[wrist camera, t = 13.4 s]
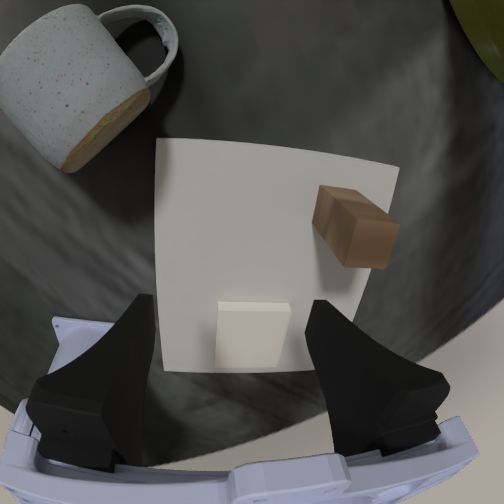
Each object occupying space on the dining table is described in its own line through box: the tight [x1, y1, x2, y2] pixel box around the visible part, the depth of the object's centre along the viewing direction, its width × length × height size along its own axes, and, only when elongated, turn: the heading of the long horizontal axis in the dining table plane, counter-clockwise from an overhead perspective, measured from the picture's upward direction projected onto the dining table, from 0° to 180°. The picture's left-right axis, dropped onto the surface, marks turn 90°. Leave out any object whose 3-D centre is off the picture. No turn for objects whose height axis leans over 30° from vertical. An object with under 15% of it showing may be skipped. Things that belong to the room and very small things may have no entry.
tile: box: [214, 301, 292, 368], centre depth 27 cm, size 1×6×7 cm
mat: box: [155, 138, 399, 373], centre depth 25 cm, size 22×18×1 cm
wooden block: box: [312, 185, 401, 269], centre depth 20 cm, size 3×3×6 cm
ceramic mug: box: [0, 4, 178, 173], centre depth 13 cm, size 11×8×8 cm
